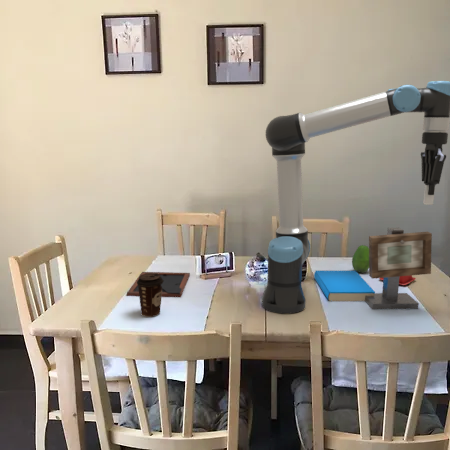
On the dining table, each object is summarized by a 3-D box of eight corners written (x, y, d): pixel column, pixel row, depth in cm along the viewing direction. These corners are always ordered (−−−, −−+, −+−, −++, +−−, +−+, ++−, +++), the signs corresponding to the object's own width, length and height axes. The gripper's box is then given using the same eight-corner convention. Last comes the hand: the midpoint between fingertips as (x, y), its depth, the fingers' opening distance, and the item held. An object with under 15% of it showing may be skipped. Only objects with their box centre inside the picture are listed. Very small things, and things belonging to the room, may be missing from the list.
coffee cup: (165, 308, 162) (164, 272, 160) (163, 318, 154) (162, 280, 152) (139, 308, 162) (138, 272, 159) (136, 318, 154) (134, 280, 151)
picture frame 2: (372, 279, 159) (372, 238, 156) (369, 275, 163) (368, 236, 160) (431, 274, 160) (432, 234, 157) (426, 271, 163) (427, 231, 160)
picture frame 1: (181, 298, 173) (189, 276, 197) (180, 293, 172) (189, 272, 197) (126, 297, 174) (142, 275, 198) (126, 292, 174) (142, 271, 198)
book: (355, 270, 194) (376, 291, 170) (354, 280, 195) (375, 302, 170) (313, 270, 194) (328, 291, 169) (313, 280, 195) (327, 302, 170)
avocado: (372, 275, 199) (374, 247, 197) (353, 274, 199) (355, 247, 197) (367, 269, 207) (369, 242, 205) (349, 269, 207) (350, 242, 205)
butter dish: (377, 281, 192) (378, 261, 190) (390, 275, 200) (391, 255, 198) (404, 288, 184) (406, 267, 183) (417, 281, 192) (419, 261, 191)
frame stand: (372, 309, 163) (378, 232, 157) (362, 298, 173) (368, 226, 167) (418, 308, 164) (425, 232, 158) (406, 298, 173) (413, 226, 167)
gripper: (457, 132, 145) (449, 207, 151) (437, 131, 158) (430, 201, 163) (433, 132, 145) (425, 207, 150) (415, 131, 158) (408, 201, 163)
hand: (428, 204), depth 157 cm, fingers closed
